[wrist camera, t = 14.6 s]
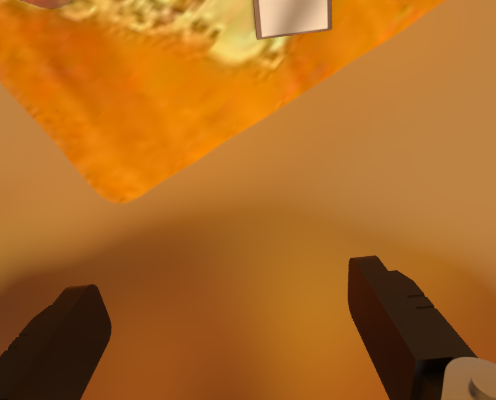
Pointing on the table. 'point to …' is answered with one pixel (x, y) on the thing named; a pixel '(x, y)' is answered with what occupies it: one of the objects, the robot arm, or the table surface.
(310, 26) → the board
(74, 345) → the robot arm
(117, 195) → the table surface
